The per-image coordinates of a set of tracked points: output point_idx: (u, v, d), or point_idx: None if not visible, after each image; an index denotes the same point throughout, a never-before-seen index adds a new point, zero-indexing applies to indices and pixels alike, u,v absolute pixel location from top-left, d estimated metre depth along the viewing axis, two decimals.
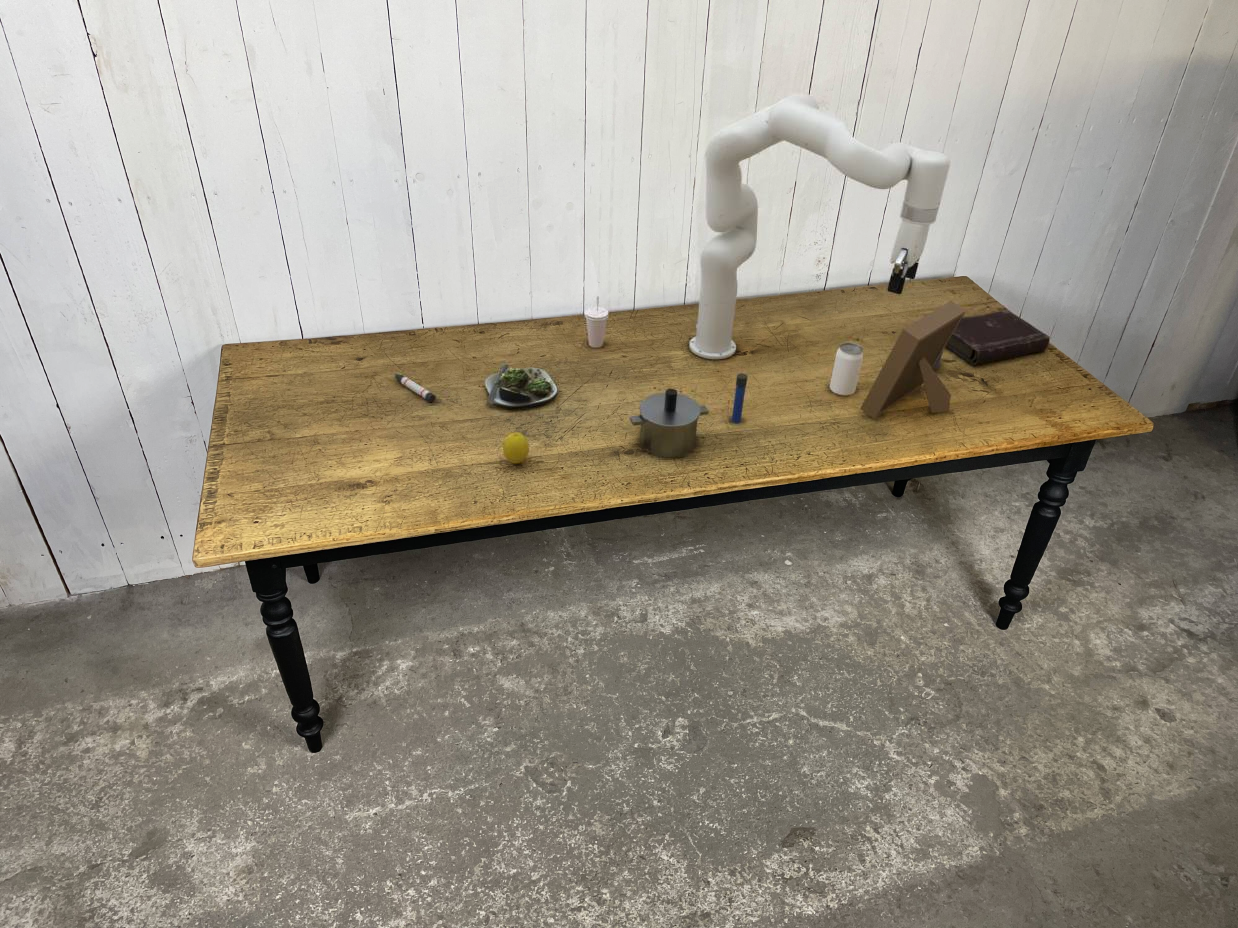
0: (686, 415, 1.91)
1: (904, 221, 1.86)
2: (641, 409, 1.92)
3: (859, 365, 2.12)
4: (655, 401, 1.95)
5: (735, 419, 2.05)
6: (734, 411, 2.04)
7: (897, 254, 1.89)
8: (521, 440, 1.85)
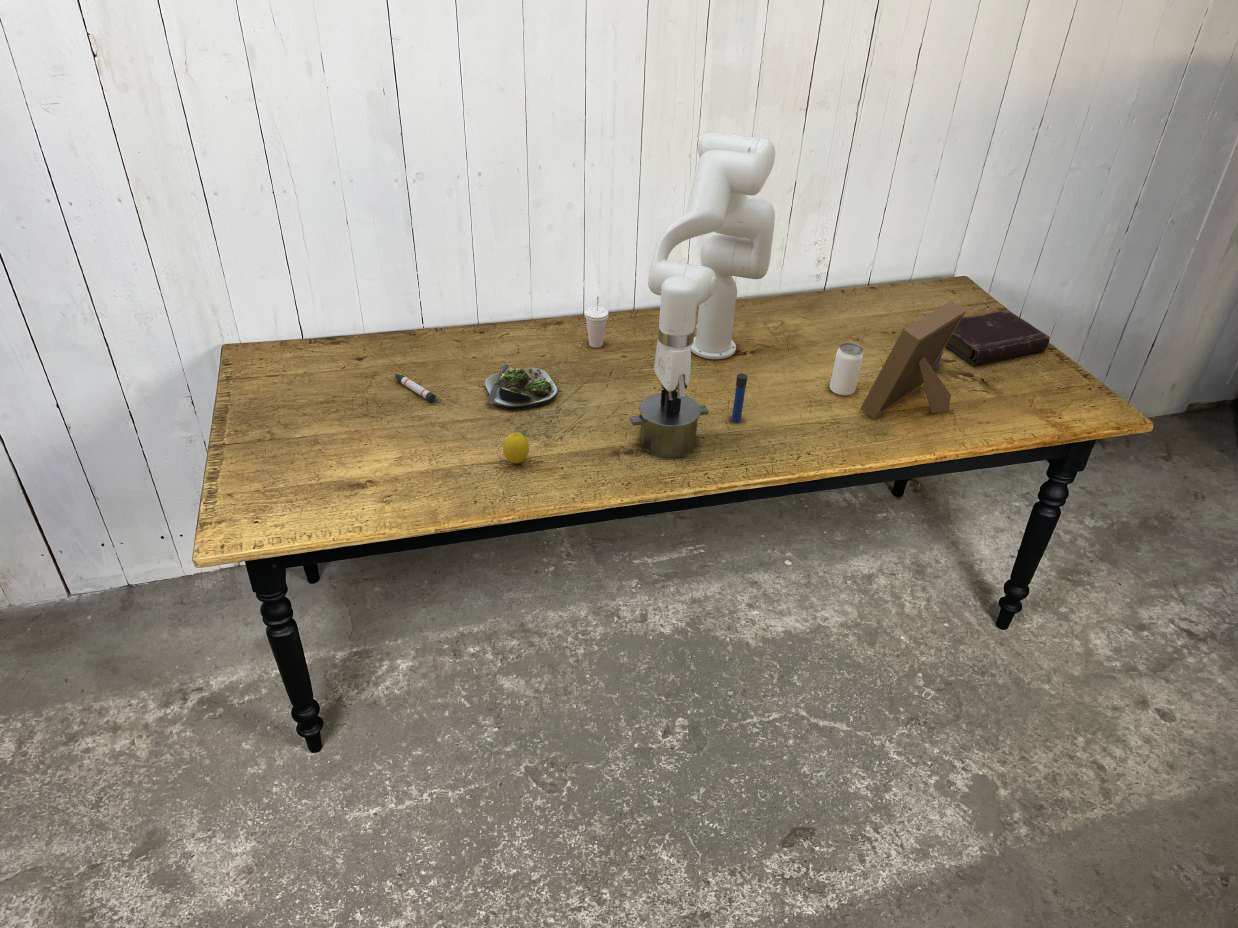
0: (686, 415, 1.91)
1: (674, 350, 1.79)
2: (641, 409, 1.92)
3: (859, 365, 2.12)
4: (655, 401, 1.95)
5: (735, 419, 2.05)
6: (734, 411, 2.04)
7: (674, 388, 1.84)
8: (521, 440, 1.85)
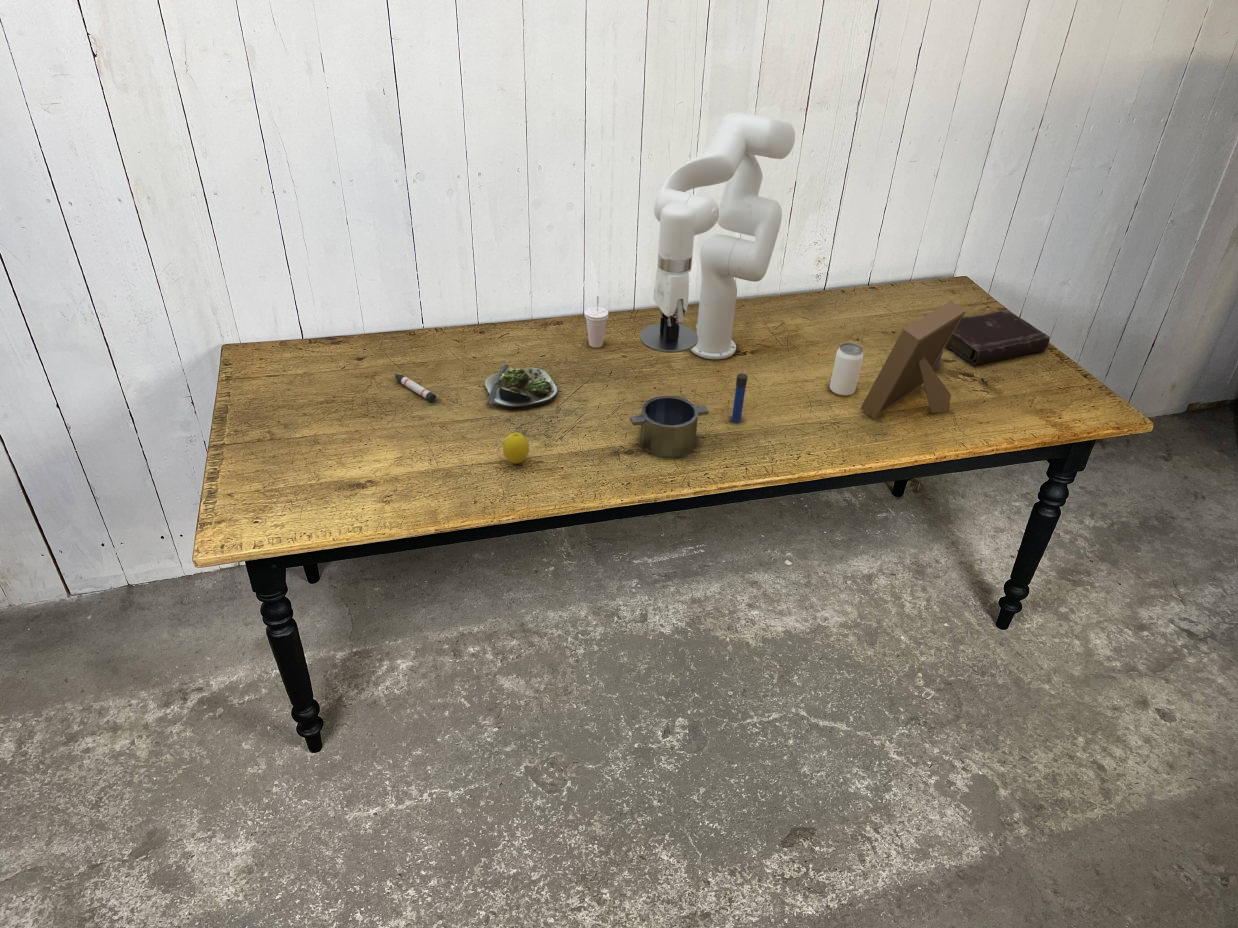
0: (684, 342, 1.99)
1: (672, 275, 1.87)
2: (641, 336, 2.00)
3: (859, 365, 2.12)
4: (654, 330, 2.03)
5: (735, 419, 2.05)
6: (734, 411, 2.04)
7: None
8: (521, 440, 1.85)
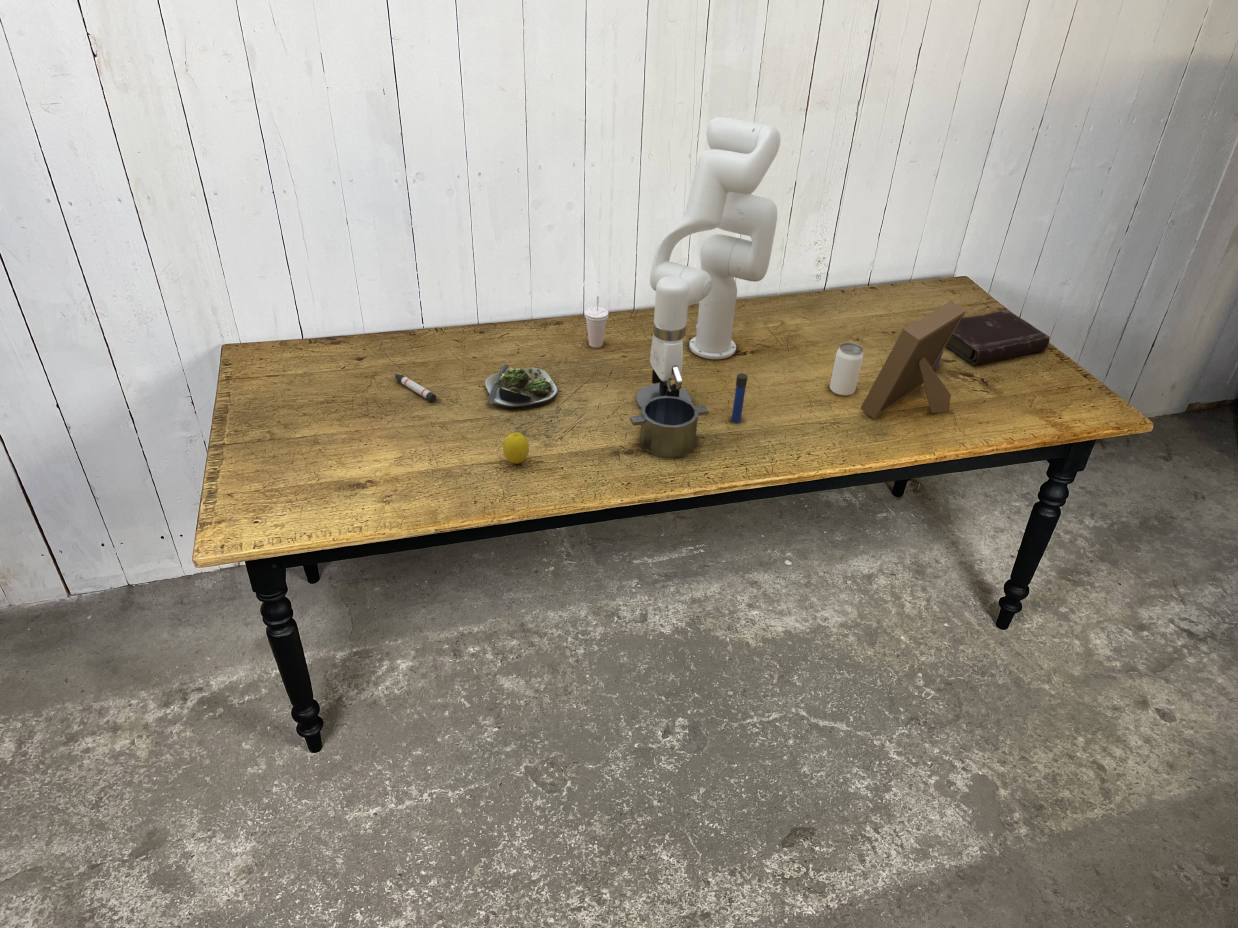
0: None
1: (667, 344, 1.97)
2: (637, 399, 2.10)
3: (859, 365, 2.12)
4: (650, 391, 2.13)
5: (735, 419, 2.05)
6: (734, 411, 2.04)
7: (669, 372, 2.01)
8: (521, 440, 1.85)
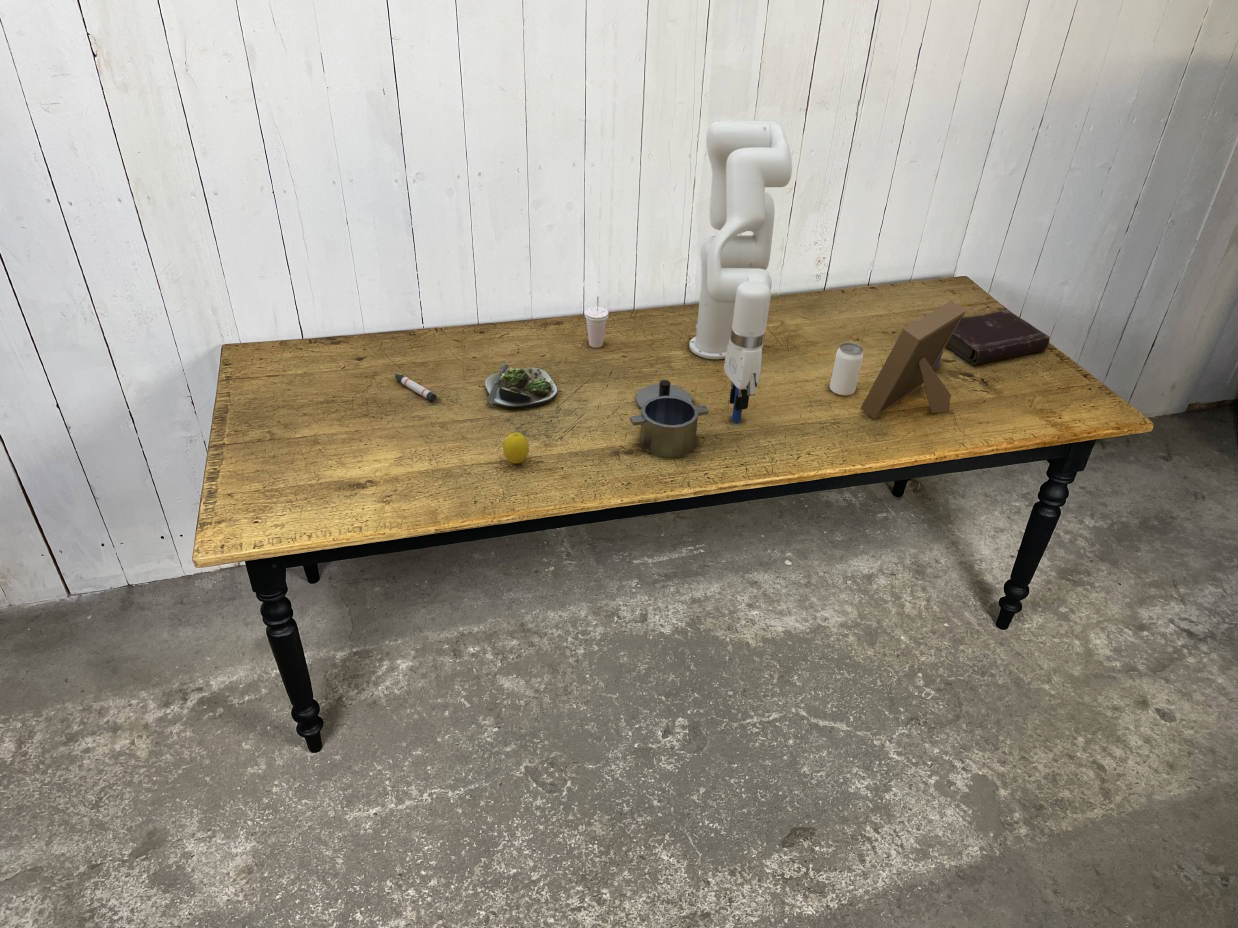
0: None
1: (746, 351, 1.90)
2: (637, 399, 2.10)
3: (859, 365, 2.12)
4: (650, 391, 2.13)
5: (735, 419, 2.05)
6: (734, 411, 2.04)
7: None
8: (521, 440, 1.85)
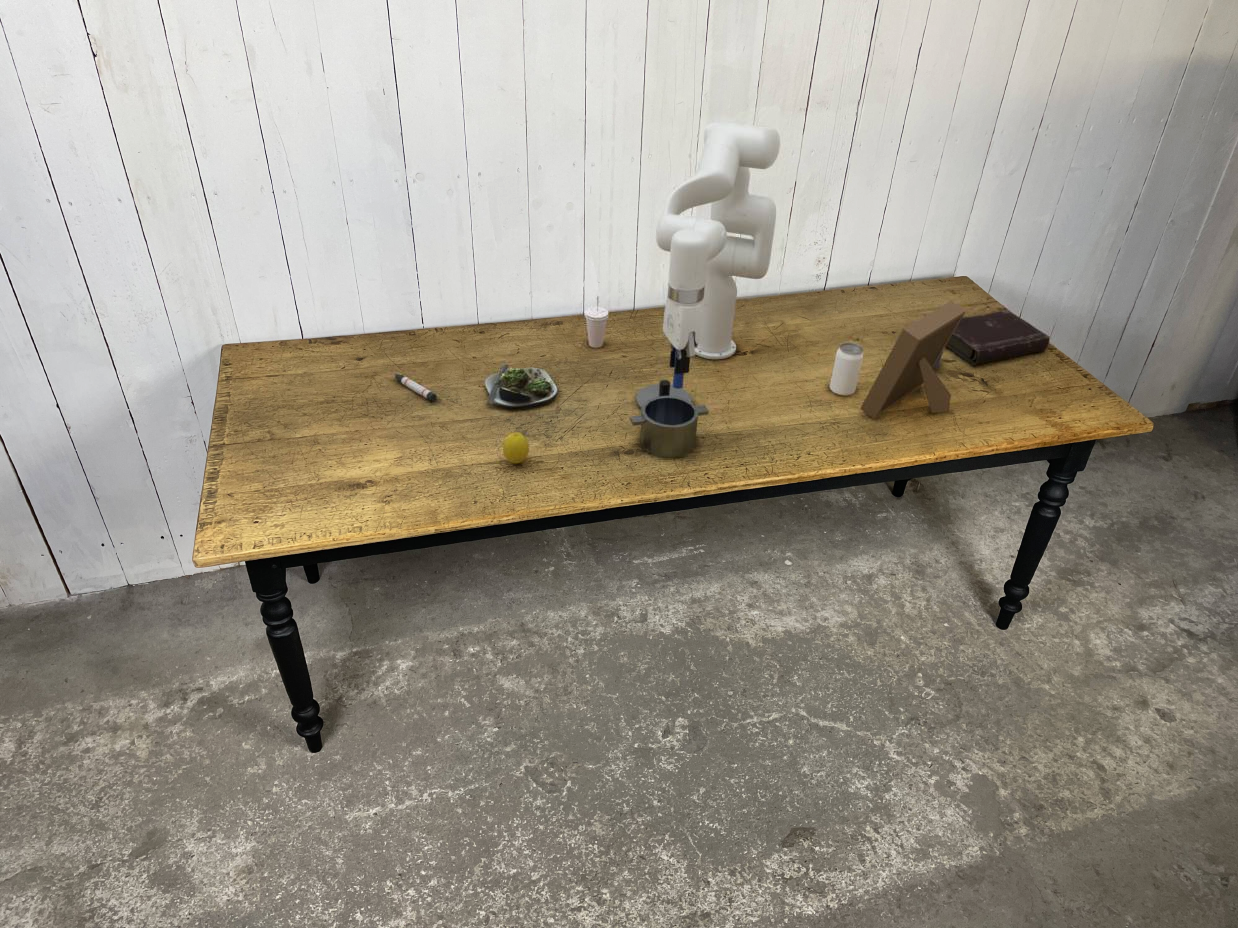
0: None
1: (683, 306, 1.74)
2: (637, 399, 2.10)
3: (859, 365, 2.12)
4: (650, 391, 2.13)
5: (676, 384, 1.89)
6: (674, 376, 1.88)
7: None
8: (521, 440, 1.85)
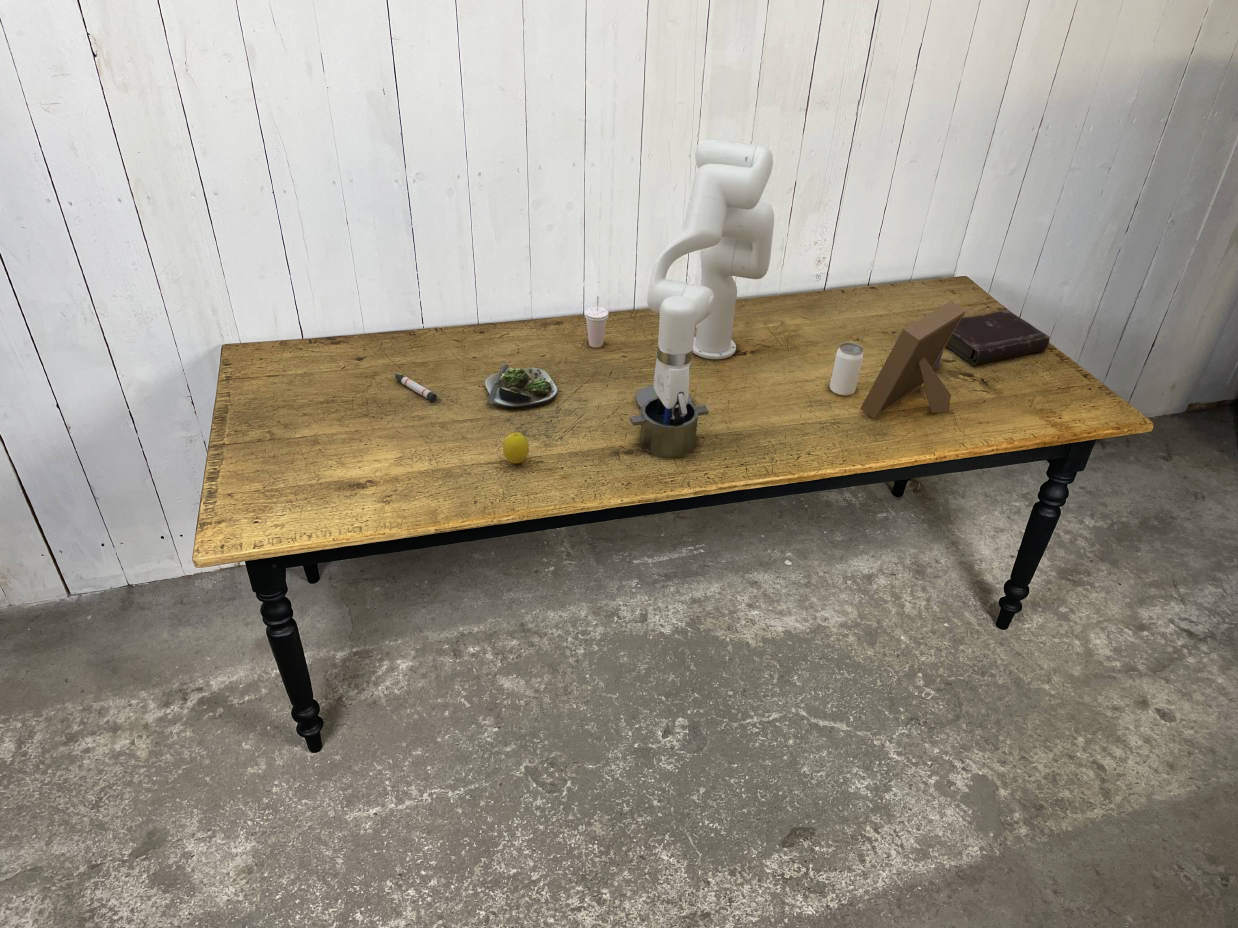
0: None
1: (672, 369, 1.82)
2: (637, 399, 2.10)
3: (859, 365, 2.12)
4: (650, 391, 2.13)
5: None
6: None
7: (674, 402, 1.86)
8: (521, 440, 1.85)
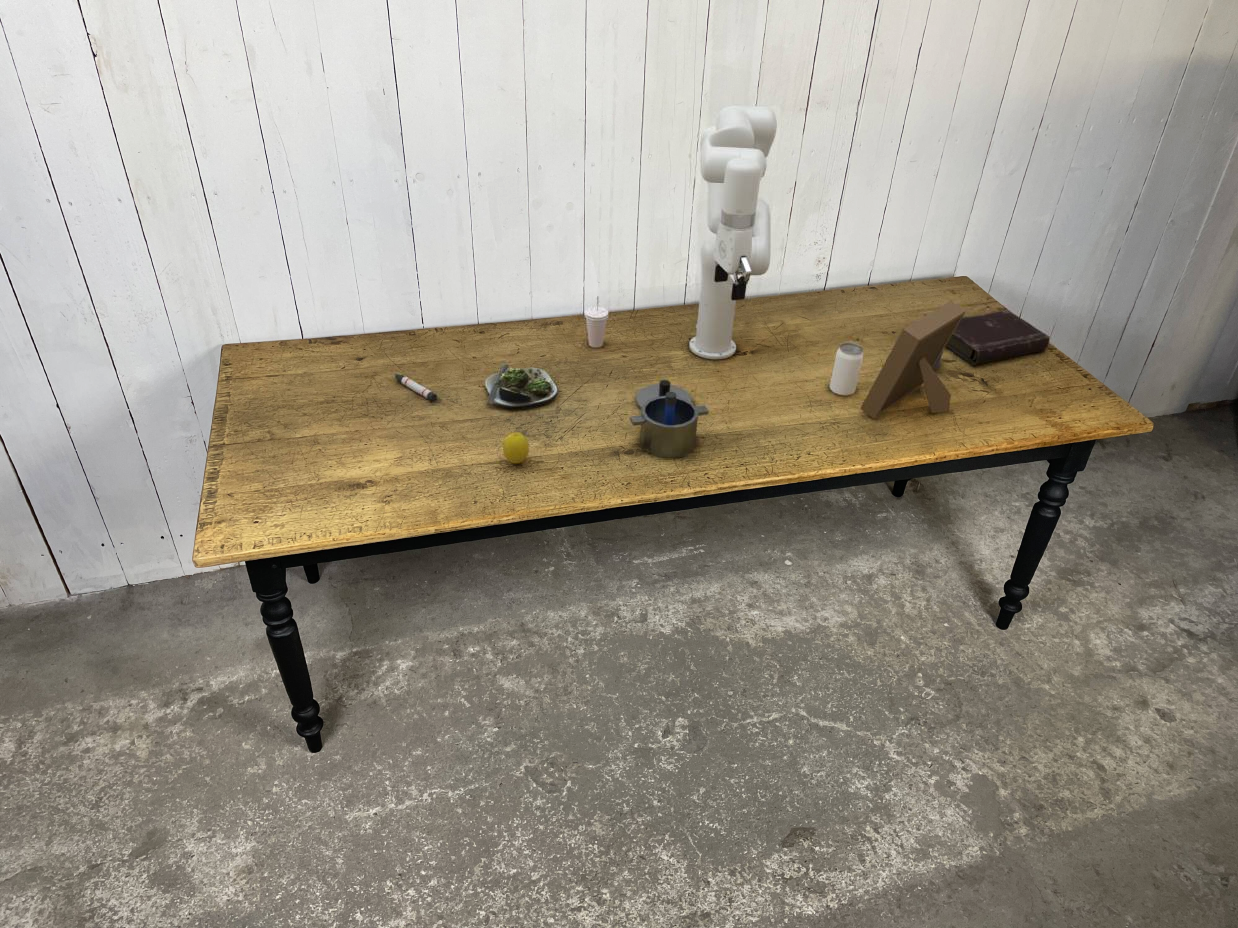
0: None
1: (736, 231, 1.86)
2: (637, 399, 2.10)
3: (859, 365, 2.12)
4: (650, 391, 2.13)
5: None
6: None
7: (737, 263, 1.89)
8: (521, 440, 1.85)
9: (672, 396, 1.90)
